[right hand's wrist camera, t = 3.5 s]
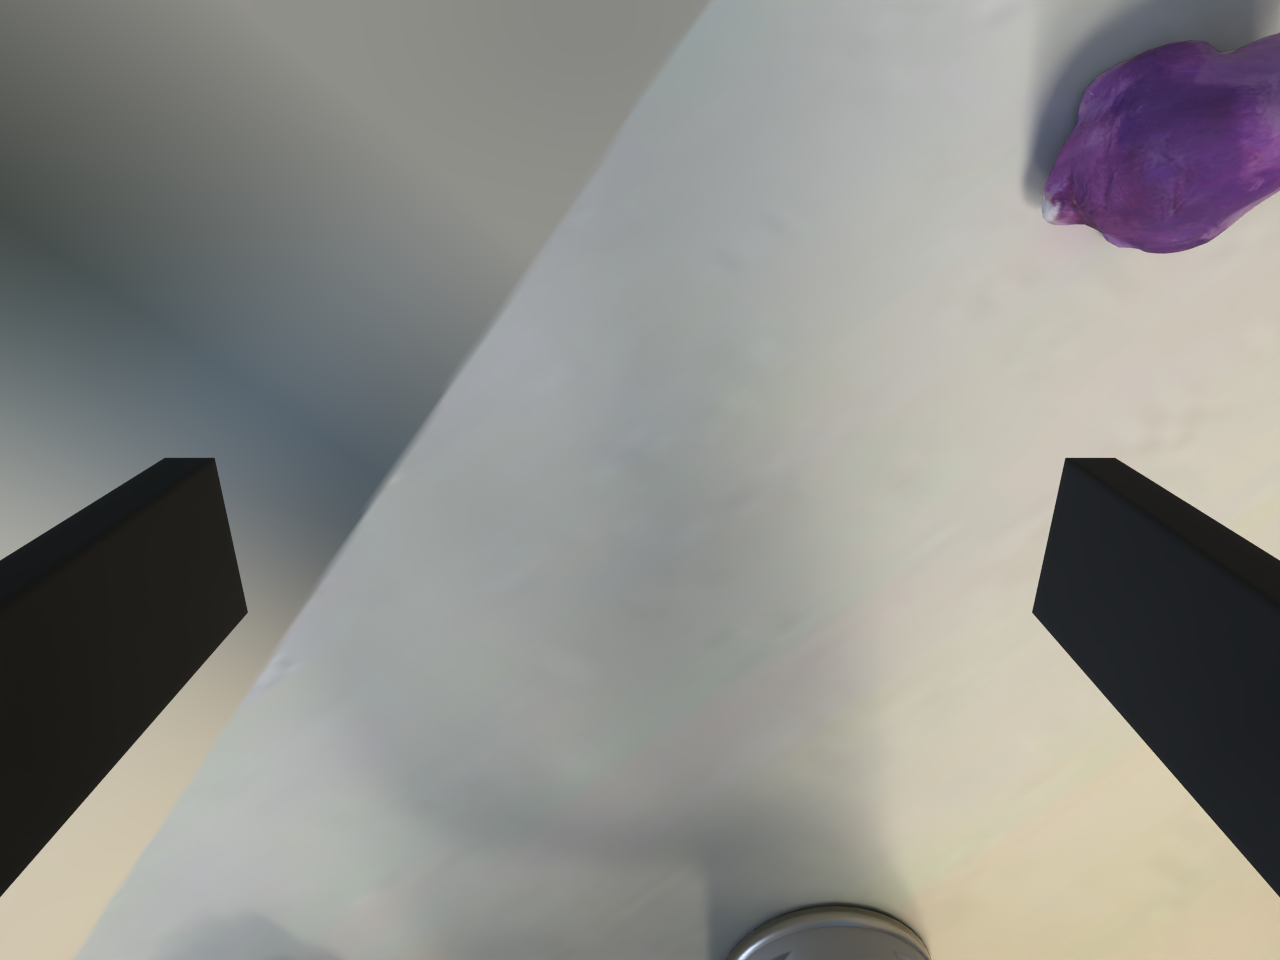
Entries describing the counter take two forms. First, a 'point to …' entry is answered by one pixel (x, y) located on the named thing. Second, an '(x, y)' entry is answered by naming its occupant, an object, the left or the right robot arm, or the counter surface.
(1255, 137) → the figurine
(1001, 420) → the counter surface
